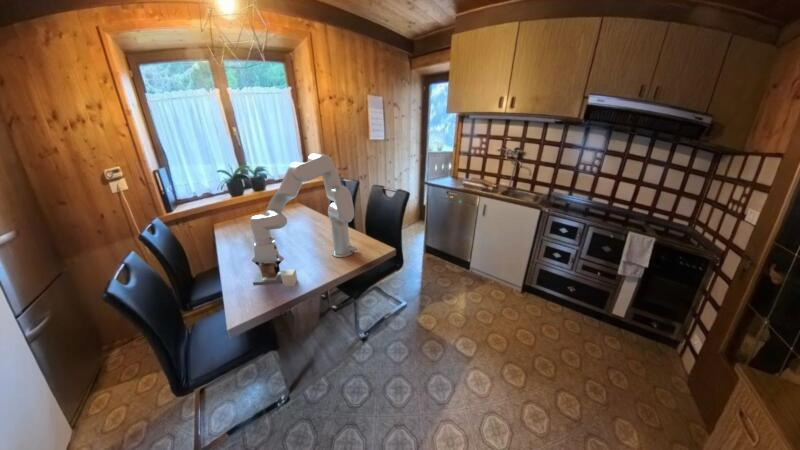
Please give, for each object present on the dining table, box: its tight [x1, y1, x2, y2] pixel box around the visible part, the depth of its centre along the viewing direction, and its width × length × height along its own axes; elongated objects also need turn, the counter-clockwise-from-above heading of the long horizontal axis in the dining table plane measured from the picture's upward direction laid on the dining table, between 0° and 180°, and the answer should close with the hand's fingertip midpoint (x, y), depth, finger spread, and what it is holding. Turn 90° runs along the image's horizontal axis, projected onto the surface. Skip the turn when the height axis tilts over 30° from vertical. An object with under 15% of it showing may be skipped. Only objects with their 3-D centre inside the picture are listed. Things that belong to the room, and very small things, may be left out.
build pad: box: [252, 270, 285, 285], centre depth 134 cm, size 14×10×1 cm
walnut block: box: [259, 262, 277, 278], centre depth 132 cm, size 6×6×6 cm
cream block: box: [281, 268, 298, 287], centre depth 129 cm, size 5×5×6 cm
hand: (270, 272), depth 133 cm, fingers closed on walnut block, 5 cm apart
